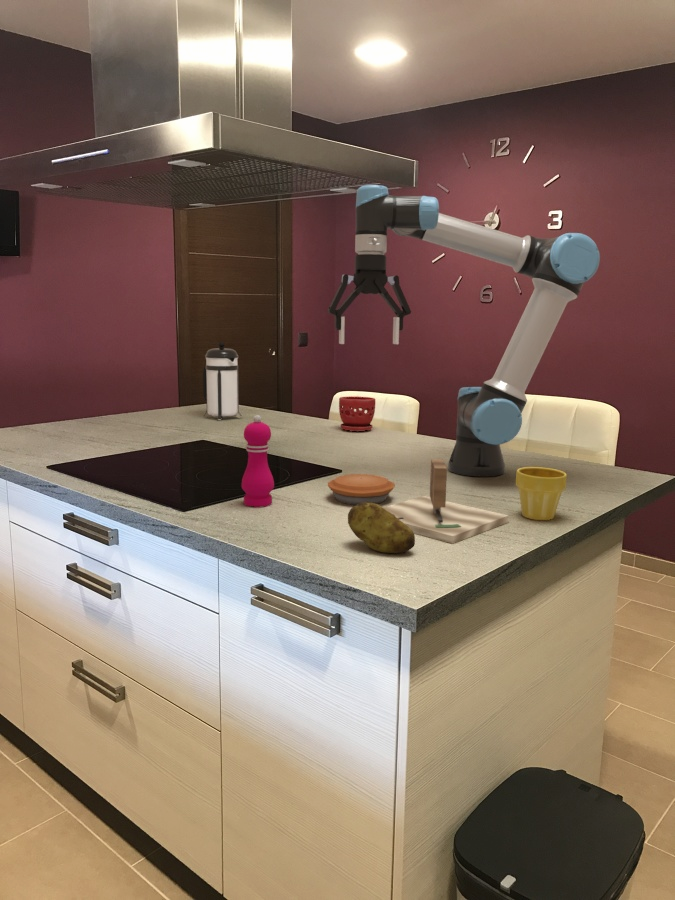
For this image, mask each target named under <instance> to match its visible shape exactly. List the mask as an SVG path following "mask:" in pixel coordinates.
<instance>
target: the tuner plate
mask: <svg viewBox="0 0 675 900" xmlns="http://www.w3.org/2000/svg"><path fill="white" fill-rule="evenodd" d="M382 507H383V508H384V509H385V510H387V511H388V512H390V513H391V514H394V515H395V517H396V518H398V519H399V520H400V521H402V522H403V523H404V524H406V525H407V526H408V527H409V528H410V529H411V530H412V531H413V533H414V534H416V535H419V536H423V537H427V538H431V539H433V540H434V539H435V540H437V541H440V542H445V543H449V544H452V545H453V544H455V543H458V542H460V541H464V540H465V539H469V538H471V537H473V536H476V535H479V534H481V533H485V532H487V531H489V530H492V529H494V528H497V527H501V526H502V525H506V524H508V523H509V519H510V518H509V515H508V514H504V513H499V512H495V511H490V510H486V509H482V508H478V507H472V506H469V505H465V504H460V503H457V502H451V501H447V500H446V503H445V507H441V513H440V514H441V517H442V520H443V523H439V521H438V518H437V515H436V514H435V513H433V505H432V501H431V498H430V496H426V495H422V496H418V497H415V498H410V499H408V500H407V499H406V500H405V501H404V500H403V501H401V502H397V503H394V504H391V505H388V506H382Z"/></svg>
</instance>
